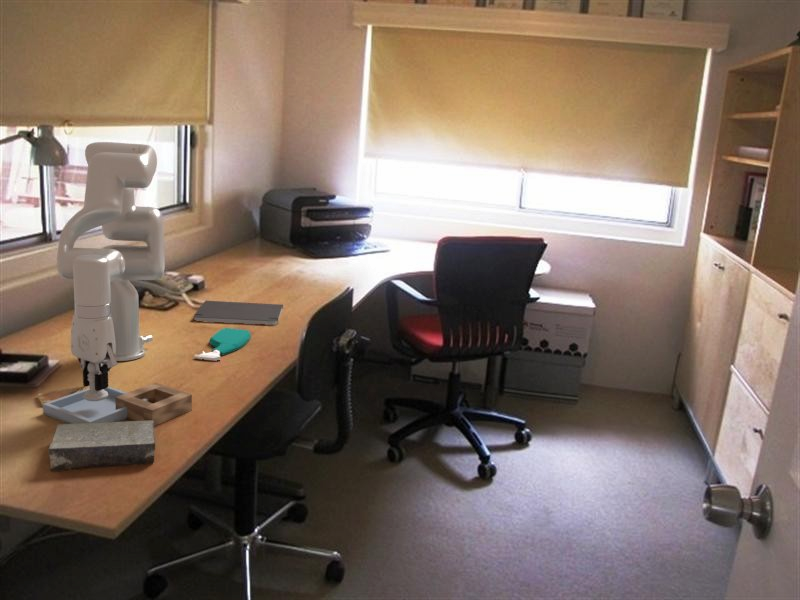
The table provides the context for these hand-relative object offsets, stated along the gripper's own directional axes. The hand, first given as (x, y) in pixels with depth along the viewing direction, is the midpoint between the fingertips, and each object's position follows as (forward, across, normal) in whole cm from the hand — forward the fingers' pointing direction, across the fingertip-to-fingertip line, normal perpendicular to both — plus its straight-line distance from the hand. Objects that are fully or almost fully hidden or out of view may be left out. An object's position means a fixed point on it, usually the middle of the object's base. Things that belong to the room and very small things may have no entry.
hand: (95, 386), depth 165 cm
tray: (+6, 0, 0) cm, 6 cm away
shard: (+7, -14, 0) cm, 16 cm away
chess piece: (+3, 0, 0) cm, 3 cm away
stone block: (+7, +18, -12) cm, 23 cm away
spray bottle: (+7, -10, +53) cm, 54 cm away
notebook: (+7, -30, +83) cm, 89 cm away
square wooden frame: (+6, +10, +8) cm, 14 cm away
